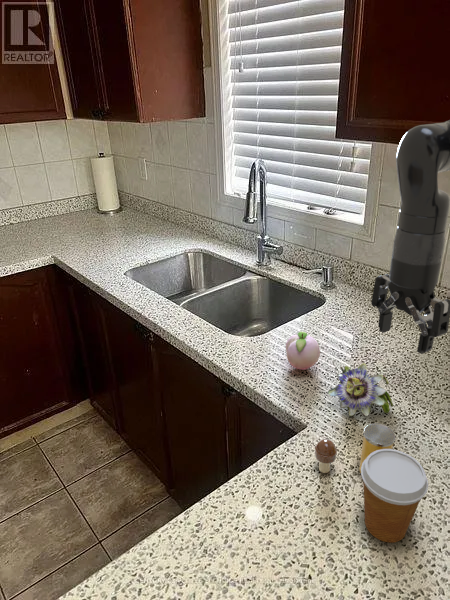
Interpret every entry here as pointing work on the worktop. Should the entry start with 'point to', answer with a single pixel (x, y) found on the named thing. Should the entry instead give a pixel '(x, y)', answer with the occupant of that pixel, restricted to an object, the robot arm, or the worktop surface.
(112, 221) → the worktop surface
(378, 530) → the disposable coffee cup
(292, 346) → the decorative fruit
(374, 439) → the yellow tin
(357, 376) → the passion flower
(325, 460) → the mushroom
